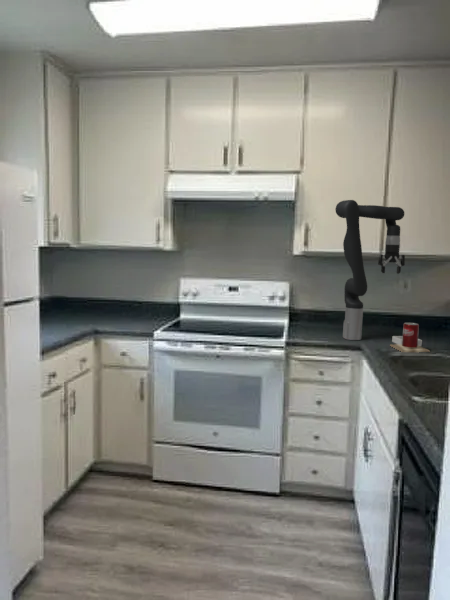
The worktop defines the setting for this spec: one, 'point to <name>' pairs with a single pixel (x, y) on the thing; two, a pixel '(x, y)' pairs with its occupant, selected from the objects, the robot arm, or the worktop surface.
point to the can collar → (399, 340)
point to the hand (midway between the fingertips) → (390, 273)
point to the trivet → (402, 349)
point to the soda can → (410, 335)
